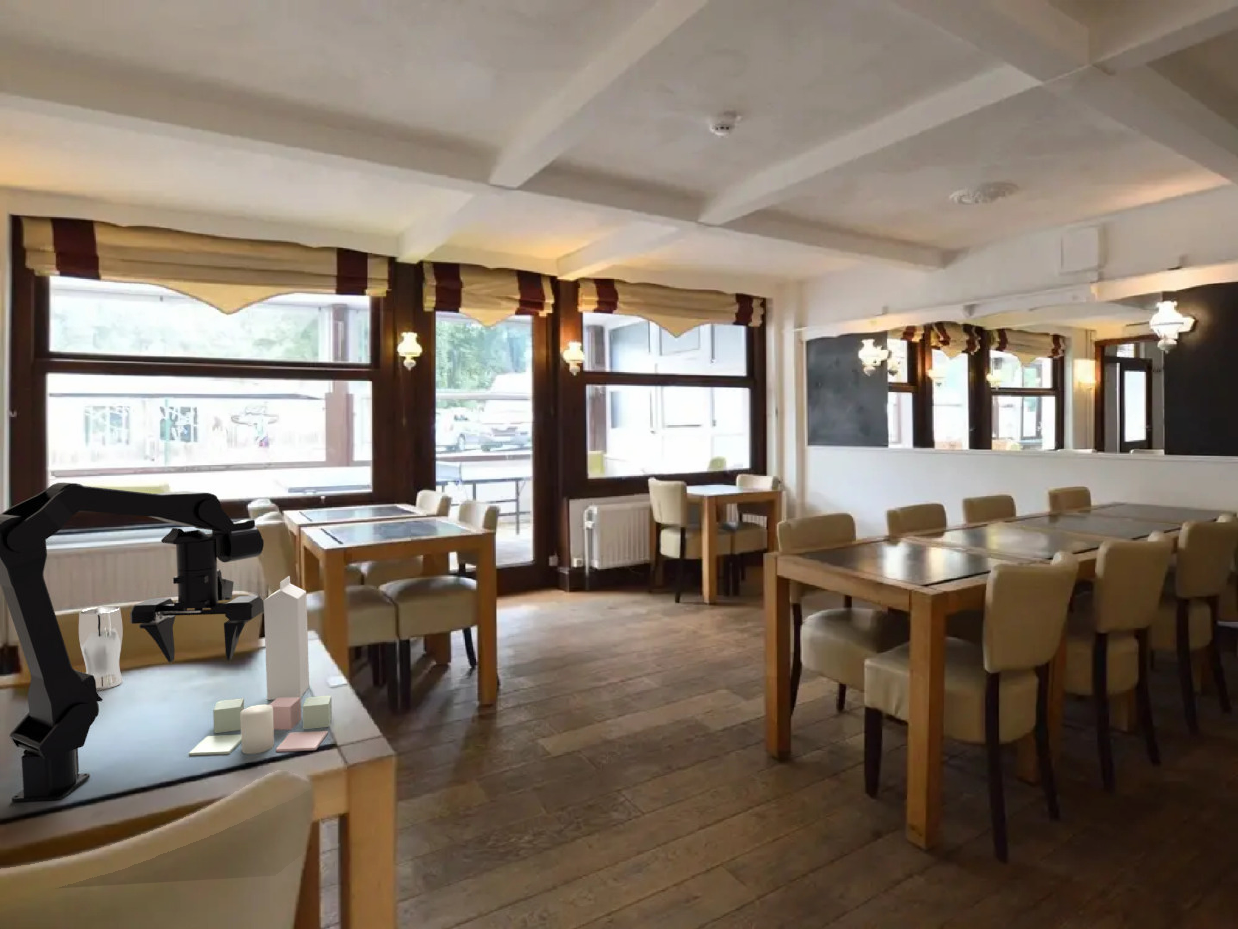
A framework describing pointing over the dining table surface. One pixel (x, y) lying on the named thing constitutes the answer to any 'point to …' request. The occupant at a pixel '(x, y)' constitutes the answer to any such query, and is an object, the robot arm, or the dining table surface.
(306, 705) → the sage cube
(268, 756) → the dining table surface
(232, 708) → the sage cube
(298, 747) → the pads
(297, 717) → the cube rose
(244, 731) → the cream rounded cylinder
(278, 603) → the milk
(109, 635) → the beer glass
